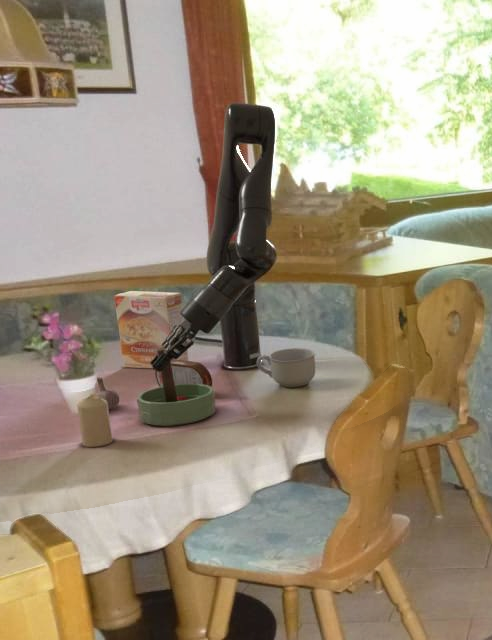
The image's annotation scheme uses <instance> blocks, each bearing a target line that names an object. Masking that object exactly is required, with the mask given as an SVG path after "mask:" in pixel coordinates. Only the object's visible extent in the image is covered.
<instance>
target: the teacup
mask: <svg viewBox="0 0 492 640" xmlns="http://www.w3.org/2000/svg"><path fill="white" fill-rule="evenodd" d="M315 356H316V352H315V351H314V350H312V349H309V348H302V347H301V348H300V347H298V348H297V347H293V348H284V349H280V350H276V351H273V352H272V353H270V354H269V355H267V354H261V356H260V357H259V358H258V359H257V366H258V367H257V368H258V370H260V371H261V372H262V373H264V374H266V375H268V376H269V377H270V378H271V379H272V380H273V381H274V382H275V383H277V384H278V385H279V386H281V387H284V388H300V387H303V386H306V385H307V384H309V383H310V381H312V380H313V379H314V377H315V375H316V359H315ZM261 360H262V361H263V360H266V361H267V362H268V364H269V366H270V369H268V368H266V367H265V366H264V365H263V363H262V364H261Z"/></svg>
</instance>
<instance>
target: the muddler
mask: <svg viewBox="0 0 492 640" xmlns="http://www.w3.org/2000/svg"><path fill="white" fill-rule="evenodd" d="M164 350H166V347H164V348H159V349H157V355H158V358H159V357H160V356H161V355H162V353H163V352H164ZM161 377H162V383H163V388H164V394H165V399H166V402H177V401H183V400H177V394H176V388H175V383H174V377H173V371H172V366H171V361H170V362H169V363H168V364H167V366H166V367H165V368H164V369H163V370H162V371H161Z"/></svg>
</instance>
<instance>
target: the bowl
mask: <svg viewBox="0 0 492 640" xmlns="http://www.w3.org/2000/svg"><path fill="white" fill-rule="evenodd" d="M175 388H176V394H177V397H178V396H183V397H185V398H186V400H184V401H177V402H166V399H165V394H164V388H163V386H161V387H159V386H157V387H154V388H150V389H147V390H144V391H142V392H139V394H138V395H137V396H136V401H137V408H138V409H137V410H138V416H139V421H140V422H142V423H143V424H148V425H151V426H157V427H174V426H182V425H189V424H193V423H197V422H200V421H202V420H204V419H207V418H208V417H211V416H212V415H214V414H215V412H216V411H217V409H216V408H217V407H216V400H215V399H216V398H215V390H214V387H213V386H212V387H211V386H208V385H203V384H192V383H189V384H175Z"/></svg>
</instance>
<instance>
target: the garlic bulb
mask: <svg viewBox="0 0 492 640" xmlns="http://www.w3.org/2000/svg"><path fill="white" fill-rule="evenodd" d="M96 380H97V381H96V382H97V383H98V390H99V391H98V392H95V393H91V394H90V395H89V396H91V395H97V396H98V397H101V398H102V399H104V400H106V401H107V404H108V411H110V410H113V409H114V408H116V407H117V406H118V405H119V404H120V403H119V402H120V395H119V393H118V392H117V391H116V390H114V389H112V388H106V387H105V383H104V381H103V377H101V376H97V377H96Z"/></svg>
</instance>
